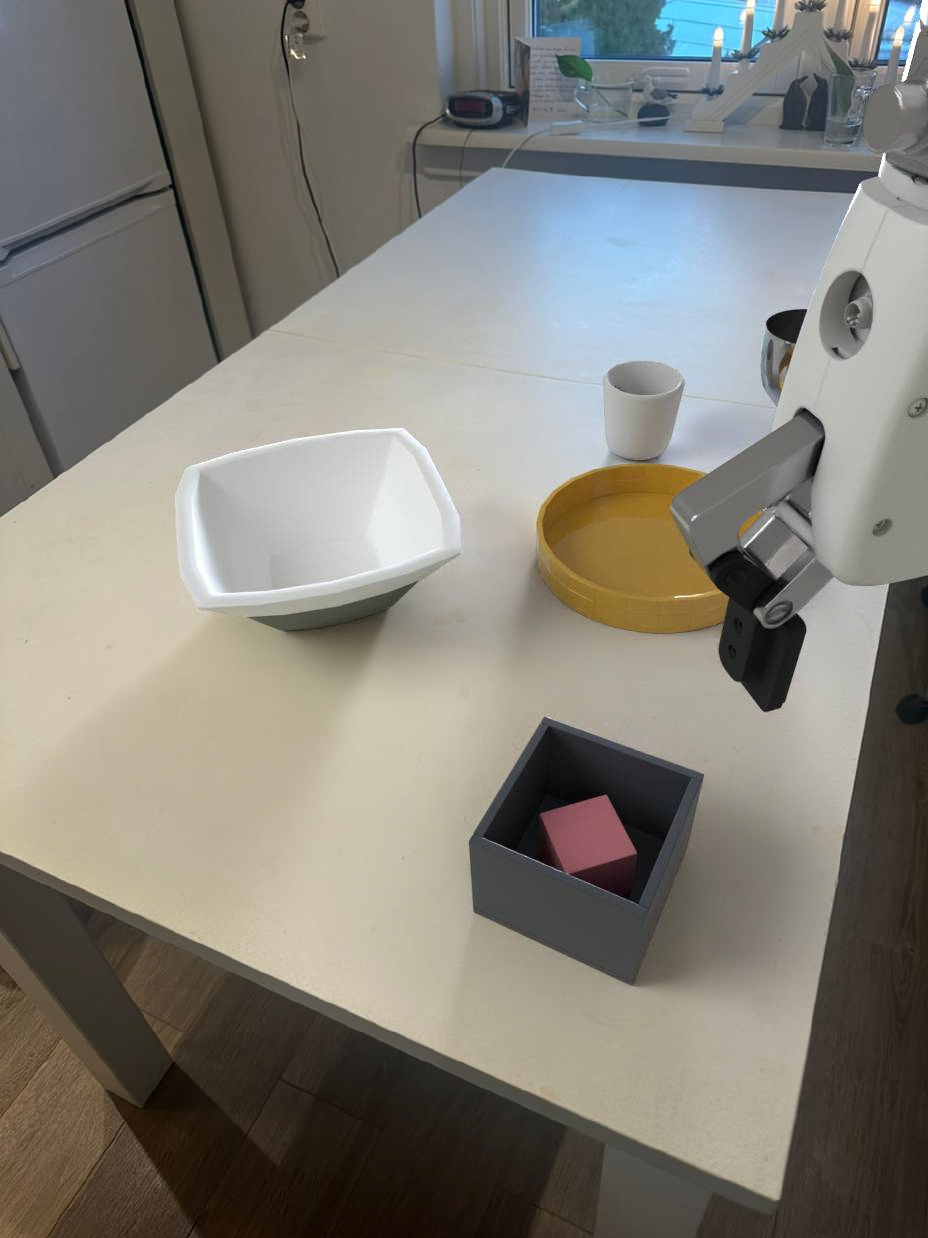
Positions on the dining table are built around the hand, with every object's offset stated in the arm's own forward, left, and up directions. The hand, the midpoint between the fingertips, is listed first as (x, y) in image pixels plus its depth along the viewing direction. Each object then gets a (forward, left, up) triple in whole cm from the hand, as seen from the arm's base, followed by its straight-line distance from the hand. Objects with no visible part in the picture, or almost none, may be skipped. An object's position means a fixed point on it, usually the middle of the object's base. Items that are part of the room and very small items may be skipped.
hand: (869, 650), depth 32 cm
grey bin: (+6, -9, -26) cm, 28 cm away
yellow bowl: (-12, -37, -26) cm, 47 cm away
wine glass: (-30, -45, -26) cm, 60 cm away
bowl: (+16, -43, -26) cm, 53 cm away
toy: (+6, -9, -26) cm, 28 cm away
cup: (-20, -55, -26) cm, 64 cm away
